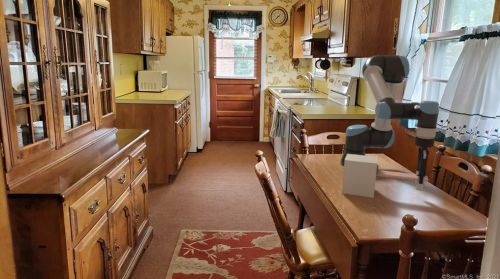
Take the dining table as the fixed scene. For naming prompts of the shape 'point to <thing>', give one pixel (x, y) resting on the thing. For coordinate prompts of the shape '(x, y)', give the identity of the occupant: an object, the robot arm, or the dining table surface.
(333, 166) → the dining table surface
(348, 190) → the block
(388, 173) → the ticket strip
